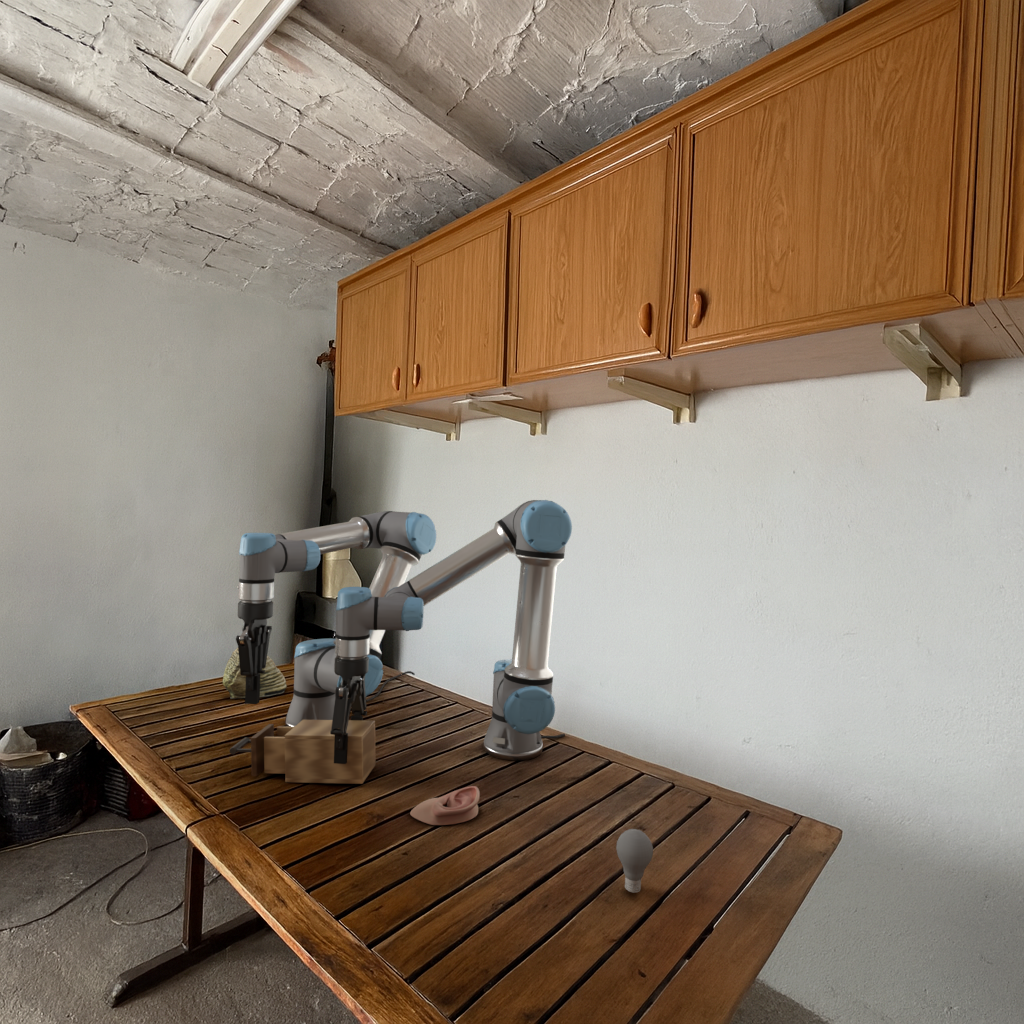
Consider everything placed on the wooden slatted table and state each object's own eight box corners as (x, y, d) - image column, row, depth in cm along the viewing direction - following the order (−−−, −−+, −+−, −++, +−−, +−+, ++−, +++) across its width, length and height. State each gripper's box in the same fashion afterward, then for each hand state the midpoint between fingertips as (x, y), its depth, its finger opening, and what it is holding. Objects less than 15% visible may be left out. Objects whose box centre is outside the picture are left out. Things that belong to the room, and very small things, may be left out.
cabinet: (285, 782, 140) (284, 735, 140) (303, 763, 150) (302, 719, 150) (362, 783, 138) (361, 736, 138) (375, 764, 148) (375, 720, 148)
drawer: (226, 775, 141) (226, 737, 141) (246, 759, 150) (245, 723, 150) (322, 777, 140) (321, 738, 140) (336, 761, 149) (335, 724, 148)
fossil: (218, 695, 195) (220, 647, 195) (278, 685, 208) (279, 640, 207) (228, 703, 189) (230, 653, 188) (289, 692, 201) (290, 645, 201)
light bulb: (610, 879, 108) (613, 822, 108) (644, 879, 109) (647, 822, 109) (619, 902, 102) (622, 840, 102) (655, 901, 103) (658, 840, 103)
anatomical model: (405, 801, 125) (424, 776, 136) (404, 821, 125) (423, 795, 136) (470, 810, 122) (484, 785, 133) (469, 831, 122) (483, 803, 133)
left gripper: (253, 595, 151) (250, 693, 152) (225, 604, 138) (221, 711, 139) (284, 597, 151) (280, 695, 151) (258, 606, 138) (254, 713, 138)
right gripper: (351, 643, 155) (348, 733, 155) (316, 668, 132) (313, 773, 133) (382, 645, 154) (378, 735, 155) (352, 670, 132) (348, 775, 132)
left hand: (252, 702), depth 145 cm, fingers closed
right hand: (348, 753), depth 144 cm, fingers closed on cabinet, 10 cm apart
